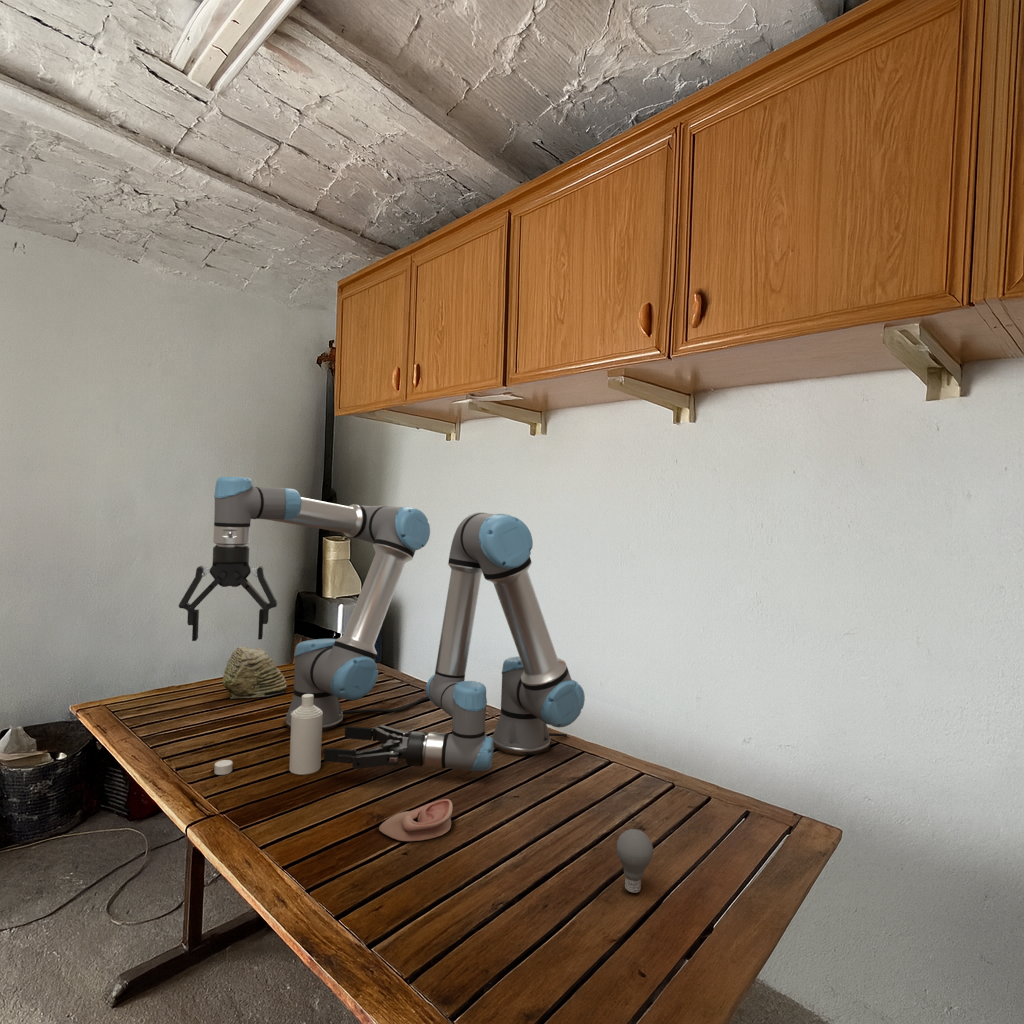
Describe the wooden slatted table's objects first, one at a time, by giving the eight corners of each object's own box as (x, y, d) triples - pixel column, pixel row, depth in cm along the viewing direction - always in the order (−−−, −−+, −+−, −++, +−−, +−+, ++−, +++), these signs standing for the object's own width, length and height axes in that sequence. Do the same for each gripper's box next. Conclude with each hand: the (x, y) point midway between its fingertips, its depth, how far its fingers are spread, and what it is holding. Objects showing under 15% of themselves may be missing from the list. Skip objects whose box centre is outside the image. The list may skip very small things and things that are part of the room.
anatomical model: (372, 815, 119) (396, 788, 130) (371, 836, 119) (395, 808, 130) (440, 826, 116) (458, 797, 127) (439, 847, 116) (457, 817, 127)
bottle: (291, 762, 150) (294, 691, 150) (321, 761, 151) (324, 690, 151) (287, 775, 143) (290, 700, 143) (319, 773, 145) (322, 699, 144)
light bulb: (610, 879, 108) (613, 822, 108) (644, 879, 109) (647, 822, 109) (619, 902, 102) (622, 840, 102) (655, 901, 103) (658, 840, 103)
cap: (213, 775, 141) (213, 767, 141) (215, 768, 145) (216, 760, 145) (231, 774, 142) (231, 765, 142) (233, 767, 146) (233, 759, 146)
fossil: (218, 695, 195) (220, 647, 195) (278, 685, 208) (279, 640, 207) (228, 703, 189) (230, 653, 188) (289, 692, 201) (290, 645, 201)
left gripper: (166, 545, 135) (162, 644, 136) (289, 547, 143) (285, 641, 143) (173, 542, 143) (170, 636, 143) (290, 545, 150) (287, 634, 151)
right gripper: (412, 790, 133) (314, 782, 134) (435, 744, 158) (352, 738, 159) (414, 754, 133) (315, 747, 134) (436, 715, 158) (353, 709, 159)
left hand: (228, 639), depth 143 cm, fingers open, 13 cm apart
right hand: (335, 742), depth 147 cm, fingers open, 13 cm apart
